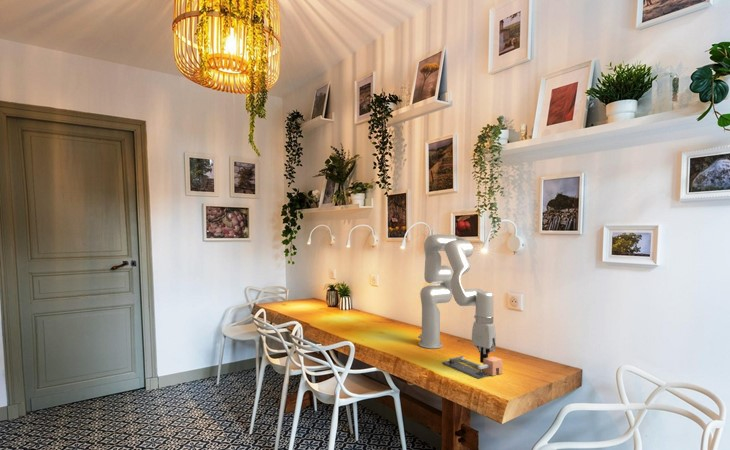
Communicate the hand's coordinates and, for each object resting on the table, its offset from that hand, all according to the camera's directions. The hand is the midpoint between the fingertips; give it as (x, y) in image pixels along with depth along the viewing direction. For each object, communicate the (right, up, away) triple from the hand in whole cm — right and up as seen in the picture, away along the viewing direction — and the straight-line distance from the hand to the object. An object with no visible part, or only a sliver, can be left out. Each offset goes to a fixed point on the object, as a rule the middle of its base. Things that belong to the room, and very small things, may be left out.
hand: (484, 362), depth 165 cm
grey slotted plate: (-5, -3, +2) cm, 6 cm away
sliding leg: (0, -3, -5) cm, 6 cm away
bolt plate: (-9, -3, 0) cm, 9 cm away
